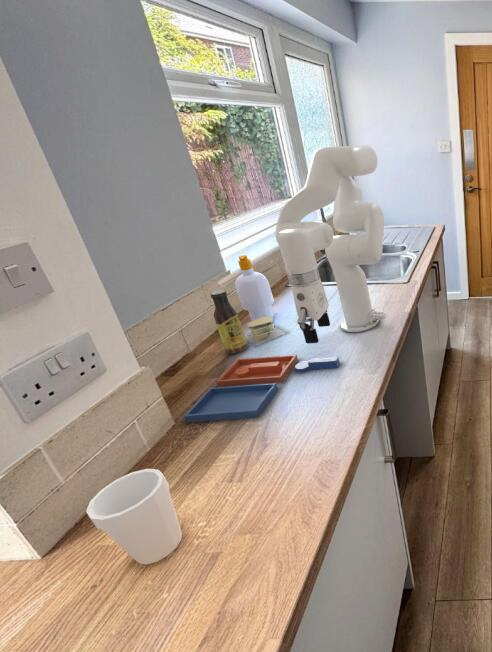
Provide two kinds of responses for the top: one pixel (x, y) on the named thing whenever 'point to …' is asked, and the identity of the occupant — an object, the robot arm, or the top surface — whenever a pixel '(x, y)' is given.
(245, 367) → the terracotta spoon
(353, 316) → the robot arm
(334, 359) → the blue spoon
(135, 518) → the foam cup
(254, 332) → the stacked layers on plate
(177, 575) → the top surface
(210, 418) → the blue tray
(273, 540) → the top surface
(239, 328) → the sauce bottle
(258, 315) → the soap bottle
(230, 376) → the terracotta tray
